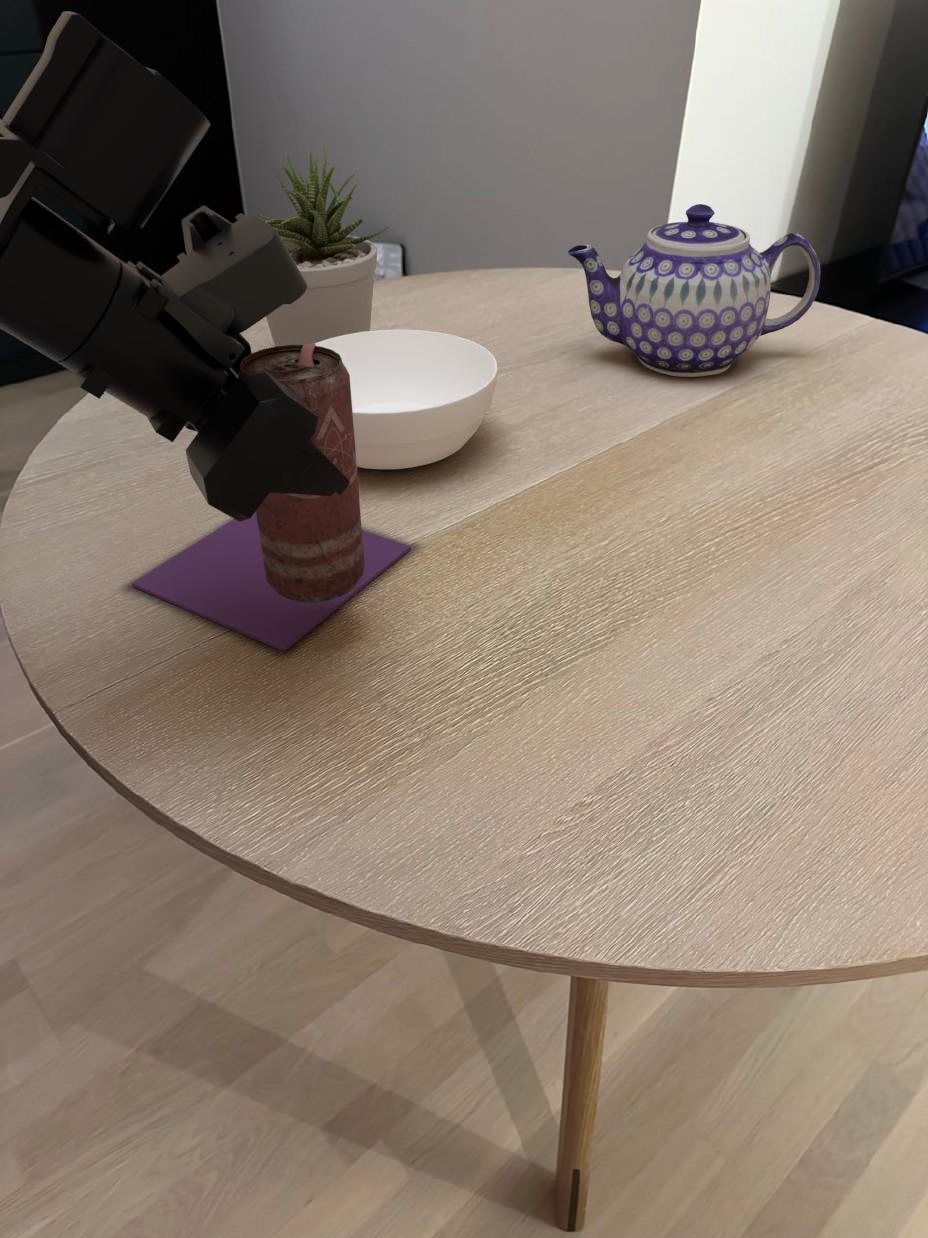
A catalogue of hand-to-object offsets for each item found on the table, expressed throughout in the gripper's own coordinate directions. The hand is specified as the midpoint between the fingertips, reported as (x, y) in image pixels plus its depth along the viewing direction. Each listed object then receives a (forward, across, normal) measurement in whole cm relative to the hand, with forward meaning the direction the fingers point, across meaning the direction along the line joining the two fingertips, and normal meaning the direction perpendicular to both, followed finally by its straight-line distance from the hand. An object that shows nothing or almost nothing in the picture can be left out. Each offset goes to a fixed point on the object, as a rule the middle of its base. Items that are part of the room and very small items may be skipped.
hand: (328, 469), depth 54 cm
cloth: (+7, +8, +9) cm, 14 cm away
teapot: (+42, +26, -26) cm, 56 cm away
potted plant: (+19, +43, -3) cm, 47 cm away
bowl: (+17, +22, -2) cm, 28 cm away
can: (+4, 0, +6) cm, 7 cm away
